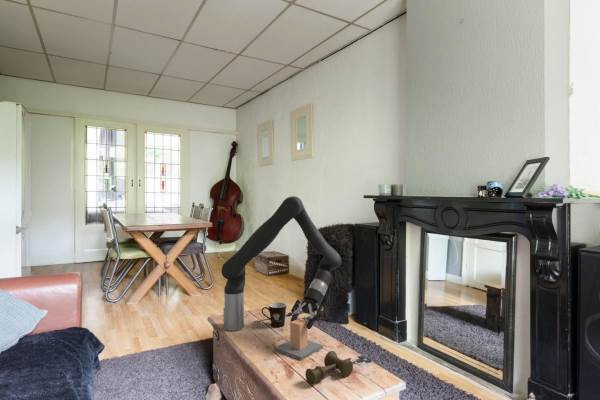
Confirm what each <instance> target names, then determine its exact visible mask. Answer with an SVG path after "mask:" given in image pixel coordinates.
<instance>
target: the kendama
mask: <svg viewBox="0 0 600 400" xmlns="http://www.w3.org/2000/svg"><path fill="white" fill-rule="evenodd" d="M334 369H338V371H339V372H340V374H341V376H342V377H343V378H347V377H349V376H350V375H351V374H352V373H353V370H354V364H353V362H352V357H348V358H346V359H343V360H342V359H340V358H339V357H338V354H337V352H336V351H334V350H330V351H329V352H327V353H326V354H325V356H324V366H319V365H316V366H315V368H312V369H311V368H306V370H305V379H306V381H307V383H308V384H309V385H311V386H315V385H316V383H317V381H319V380H321V381H322V380H324V378H325V376H326V375H327V374H328V373H330V372H331V371H333V370H334Z"/></svg>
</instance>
